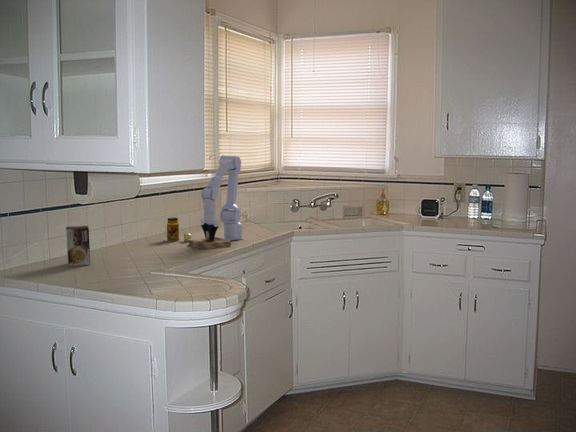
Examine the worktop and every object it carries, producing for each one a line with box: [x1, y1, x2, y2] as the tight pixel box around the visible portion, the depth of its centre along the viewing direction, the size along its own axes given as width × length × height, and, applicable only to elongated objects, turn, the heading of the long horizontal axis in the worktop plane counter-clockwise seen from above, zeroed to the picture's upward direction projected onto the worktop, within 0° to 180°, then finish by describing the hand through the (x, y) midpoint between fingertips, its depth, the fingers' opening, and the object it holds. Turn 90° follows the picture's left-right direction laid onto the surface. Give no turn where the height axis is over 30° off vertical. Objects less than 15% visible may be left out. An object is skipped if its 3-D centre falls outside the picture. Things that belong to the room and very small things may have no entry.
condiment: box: [163, 216, 182, 243], centre depth 334 cm, size 7×8×12 cm
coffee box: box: [65, 225, 91, 267], centre depth 275 cm, size 9×6×16 cm
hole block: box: [188, 236, 232, 250], centre depth 322 cm, size 16×14×2 cm
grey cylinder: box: [206, 230, 213, 242], centre depth 321 cm, size 4×4×7 cm
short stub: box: [183, 233, 192, 243], centre depth 332 cm, size 4×4×4 cm
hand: (209, 239), depth 321 cm, fingers closed on grey cylinder, 4 cm apart
